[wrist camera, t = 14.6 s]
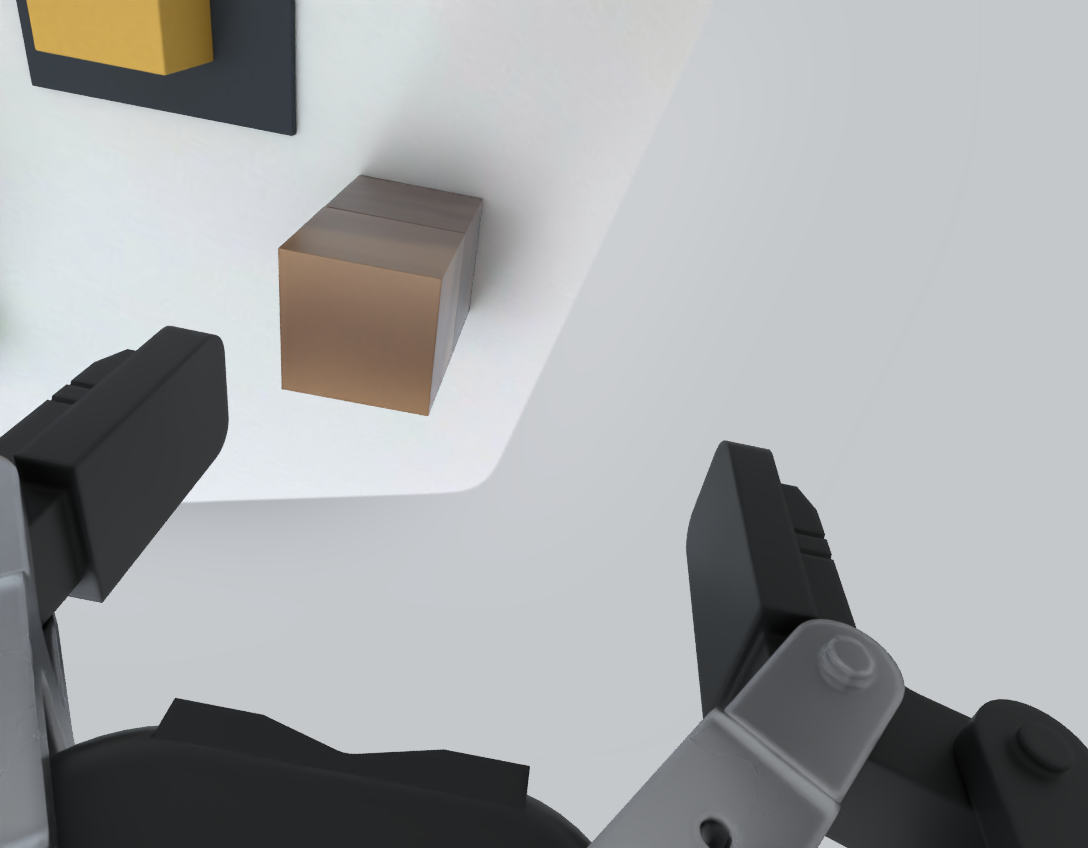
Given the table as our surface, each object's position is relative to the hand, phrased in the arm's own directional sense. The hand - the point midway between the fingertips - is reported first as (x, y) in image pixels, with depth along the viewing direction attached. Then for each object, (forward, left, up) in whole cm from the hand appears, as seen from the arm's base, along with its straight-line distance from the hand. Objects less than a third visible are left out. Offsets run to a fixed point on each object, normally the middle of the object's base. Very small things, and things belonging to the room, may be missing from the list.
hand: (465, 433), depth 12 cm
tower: (+9, -7, -32) cm, 34 cm away
